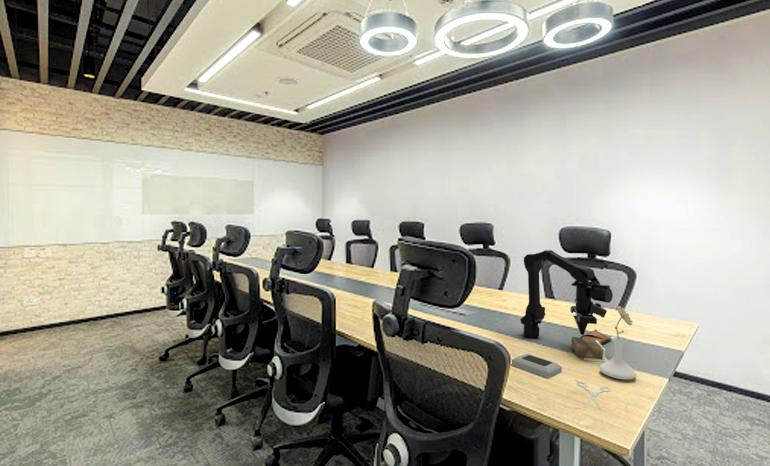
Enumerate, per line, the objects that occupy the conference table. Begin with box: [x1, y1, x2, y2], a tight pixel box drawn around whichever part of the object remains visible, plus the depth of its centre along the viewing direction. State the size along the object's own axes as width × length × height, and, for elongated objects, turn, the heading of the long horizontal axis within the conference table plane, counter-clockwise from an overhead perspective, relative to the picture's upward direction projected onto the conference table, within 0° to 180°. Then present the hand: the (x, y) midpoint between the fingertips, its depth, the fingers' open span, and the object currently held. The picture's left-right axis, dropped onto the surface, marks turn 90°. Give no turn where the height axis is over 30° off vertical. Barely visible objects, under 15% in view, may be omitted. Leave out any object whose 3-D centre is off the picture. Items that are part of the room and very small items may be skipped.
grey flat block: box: [510, 353, 563, 380], centre depth 139 cm, size 10×4×15 cm
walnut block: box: [570, 336, 607, 360], centre depth 155 cm, size 4×12×10 cm
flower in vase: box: [598, 305, 637, 380], centre depth 134 cm, size 13×11×25 cm
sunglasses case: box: [579, 329, 612, 346], centre depth 169 cm, size 18×7×7 cm
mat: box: [579, 356, 609, 363], centre depth 155 cm, size 10×16×1 cm, turn 164°
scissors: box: [574, 378, 612, 411], centre depth 119 cm, size 11×1×20 cm
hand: (582, 334), depth 155 cm, fingers closed
